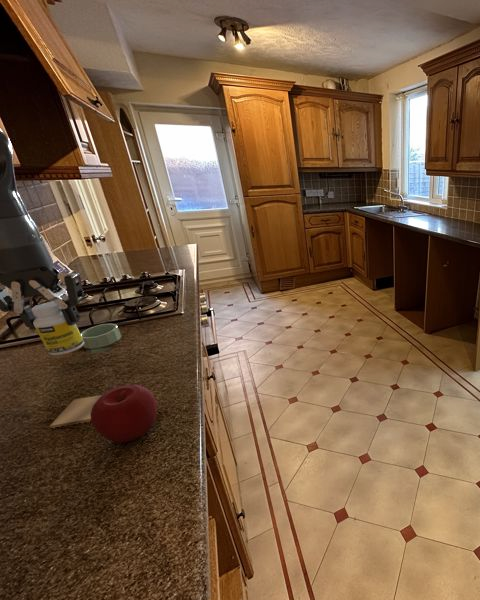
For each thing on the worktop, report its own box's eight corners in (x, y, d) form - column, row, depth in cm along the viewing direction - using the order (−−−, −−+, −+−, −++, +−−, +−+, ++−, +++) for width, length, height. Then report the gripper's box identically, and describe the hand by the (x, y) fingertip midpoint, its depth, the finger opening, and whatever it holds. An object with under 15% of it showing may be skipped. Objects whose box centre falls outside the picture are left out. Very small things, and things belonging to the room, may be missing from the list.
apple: (119, 461, 58) (96, 419, 54) (95, 440, 62) (73, 400, 58) (174, 425, 65) (158, 386, 61) (149, 409, 70) (133, 371, 66)
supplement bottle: (47, 359, 63) (22, 314, 59) (51, 347, 67) (27, 305, 63) (84, 349, 66) (63, 306, 62) (85, 338, 70) (66, 297, 66)
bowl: (79, 355, 89) (72, 340, 87) (96, 340, 96) (89, 325, 94) (114, 350, 91) (108, 335, 89) (128, 336, 98) (122, 321, 96)
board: (51, 428, 65) (49, 425, 65) (75, 402, 72) (73, 399, 72) (109, 418, 67) (108, 415, 67) (127, 393, 74) (126, 390, 74)
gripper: (74, 234, 62) (108, 312, 69) (-22, 240, 58) (24, 322, 66) (47, 244, 55) (88, 329, 63) (-62, 251, 52) (-6, 340, 59)
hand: (55, 325), depth 64 cm, fingers closed on supplement bottle, 5 cm apart
